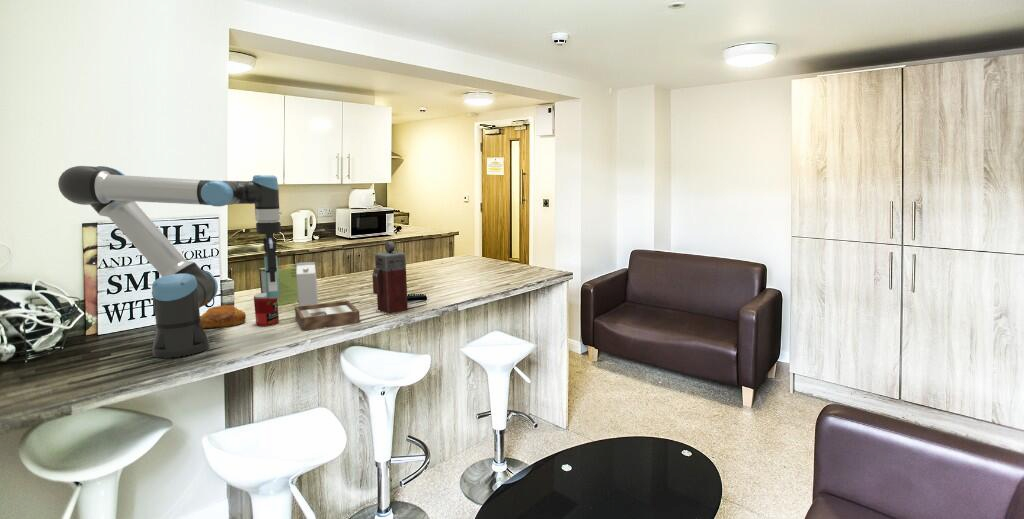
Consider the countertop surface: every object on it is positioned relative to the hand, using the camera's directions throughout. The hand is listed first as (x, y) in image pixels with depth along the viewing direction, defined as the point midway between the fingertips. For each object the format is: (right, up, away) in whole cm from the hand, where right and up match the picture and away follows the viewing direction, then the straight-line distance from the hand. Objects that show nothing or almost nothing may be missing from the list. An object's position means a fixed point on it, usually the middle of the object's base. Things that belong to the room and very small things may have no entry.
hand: (272, 289), depth 180 cm
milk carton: (-3, -10, +40) cm, 41 cm away
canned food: (-9, -14, +15) cm, 22 cm away
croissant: (-26, -14, +17) cm, 34 cm away
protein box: (-18, -8, +51) cm, 55 cm away
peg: (0, -3, 0) cm, 3 cm away
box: (+12, -13, +19) cm, 26 cm away
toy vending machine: (+33, -10, +33) cm, 48 cm away
